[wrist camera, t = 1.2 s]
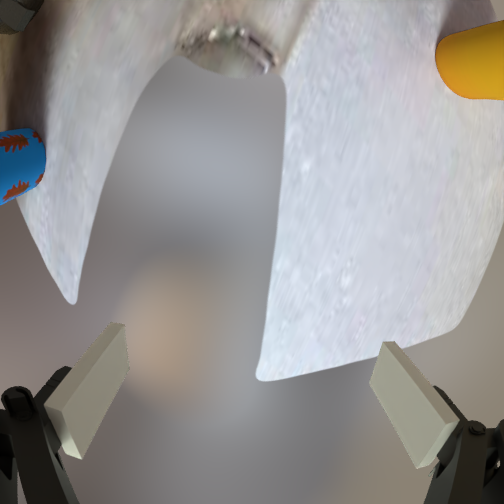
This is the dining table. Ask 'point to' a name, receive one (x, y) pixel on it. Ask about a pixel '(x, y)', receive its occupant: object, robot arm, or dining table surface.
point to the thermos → (20, 162)
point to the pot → (17, 14)
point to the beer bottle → (474, 62)
